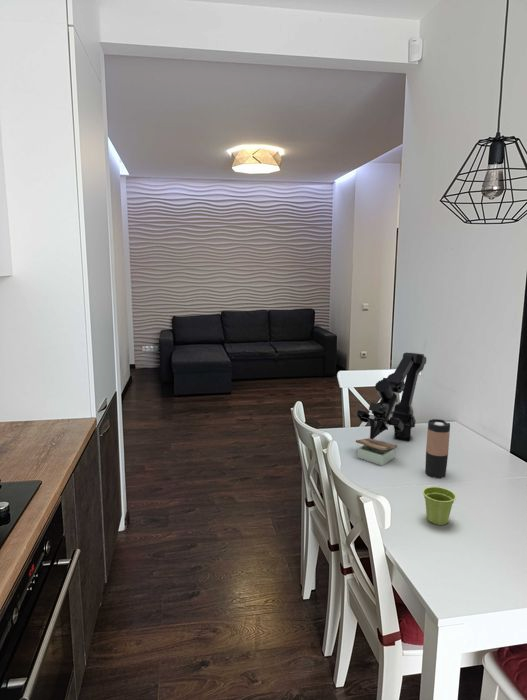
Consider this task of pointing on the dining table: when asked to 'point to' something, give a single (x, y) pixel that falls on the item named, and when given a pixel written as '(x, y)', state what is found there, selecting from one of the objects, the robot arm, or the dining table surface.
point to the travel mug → (437, 448)
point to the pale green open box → (376, 454)
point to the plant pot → (438, 504)
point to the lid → (376, 444)
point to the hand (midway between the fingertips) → (371, 438)
